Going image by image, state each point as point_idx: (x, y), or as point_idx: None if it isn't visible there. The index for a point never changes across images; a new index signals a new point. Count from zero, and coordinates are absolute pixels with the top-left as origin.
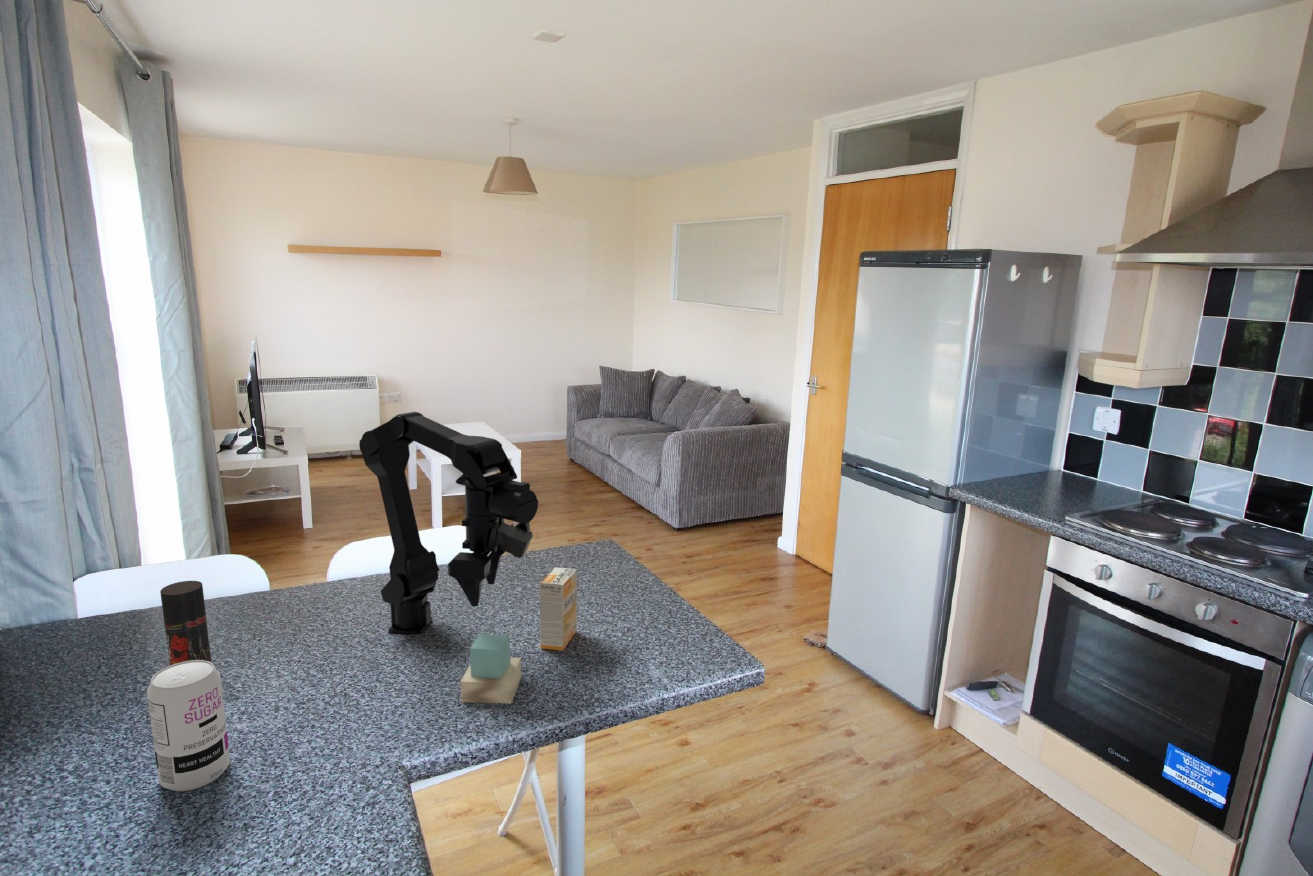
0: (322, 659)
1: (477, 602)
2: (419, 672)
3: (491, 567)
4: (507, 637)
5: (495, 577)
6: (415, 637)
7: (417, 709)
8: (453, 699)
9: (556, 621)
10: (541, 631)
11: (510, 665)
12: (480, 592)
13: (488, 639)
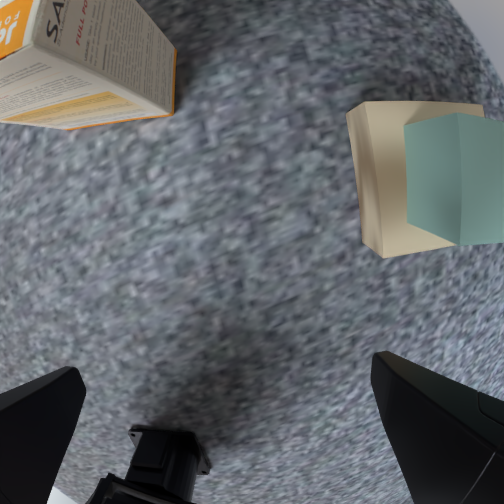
0: (318, 495)
1: (406, 361)
2: (356, 371)
3: (25, 439)
4: (470, 119)
5: (46, 380)
6: (208, 434)
7: (479, 301)
8: (454, 248)
9: (144, 32)
10: (156, 99)
11: (412, 122)
12: (422, 391)
13: (491, 195)
